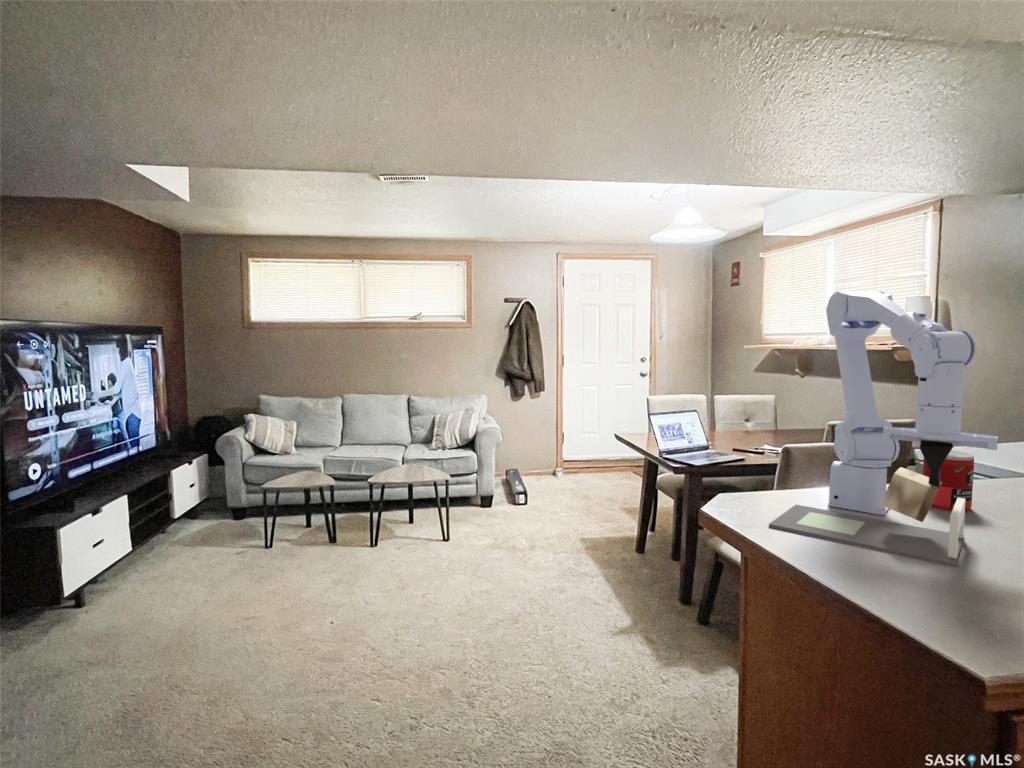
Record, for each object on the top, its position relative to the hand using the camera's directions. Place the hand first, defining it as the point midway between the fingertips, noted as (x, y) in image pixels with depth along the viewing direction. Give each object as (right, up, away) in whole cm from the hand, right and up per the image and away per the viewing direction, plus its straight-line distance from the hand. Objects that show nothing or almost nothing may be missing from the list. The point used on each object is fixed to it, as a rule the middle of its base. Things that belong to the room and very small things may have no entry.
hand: (934, 487), depth 87 cm
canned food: (+18, -8, +20) cm, 28 cm away
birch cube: (0, -3, 0) cm, 3 cm away
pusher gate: (+1, -10, -3) cm, 10 cm away
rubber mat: (-8, -9, +5) cm, 13 cm away
